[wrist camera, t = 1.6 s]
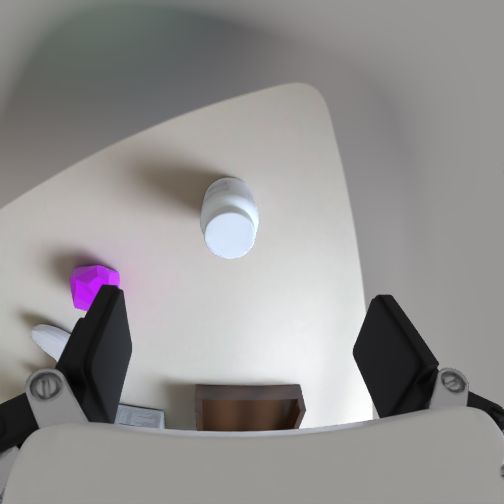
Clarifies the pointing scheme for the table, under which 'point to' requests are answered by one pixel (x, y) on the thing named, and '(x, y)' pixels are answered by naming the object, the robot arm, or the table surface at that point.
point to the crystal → (90, 284)
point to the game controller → (50, 339)
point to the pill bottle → (229, 218)
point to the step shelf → (248, 408)
